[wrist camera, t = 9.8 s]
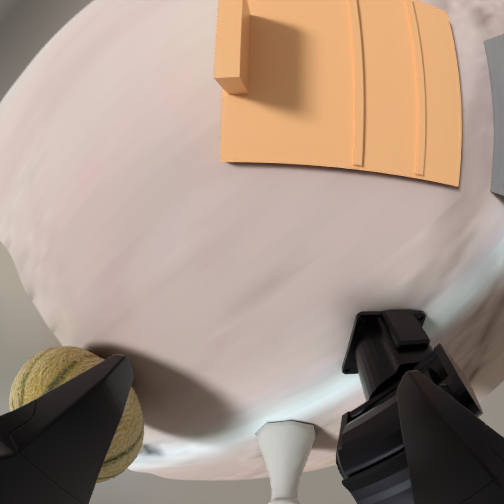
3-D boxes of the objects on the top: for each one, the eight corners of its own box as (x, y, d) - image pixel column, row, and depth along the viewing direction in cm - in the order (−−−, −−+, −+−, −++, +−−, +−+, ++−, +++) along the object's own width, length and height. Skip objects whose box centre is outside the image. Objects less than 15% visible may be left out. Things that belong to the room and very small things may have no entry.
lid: (448, 183, 16) (492, 197, 11) (224, 161, 17) (203, 165, 12) (439, 18, 11) (472, -4, 6) (231, -17, 12) (218, -57, 7)
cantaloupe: (103, 411, 29) (61, 488, 15) (39, 329, 25) (-30, 403, 11) (187, 411, 26) (151, 524, 12) (112, 307, 22) (13, 429, 8)
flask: (308, 447, 28) (311, 512, 18) (252, 445, 28) (245, 511, 19) (323, 419, 25) (330, 496, 16) (257, 416, 26) (249, 496, 16)
